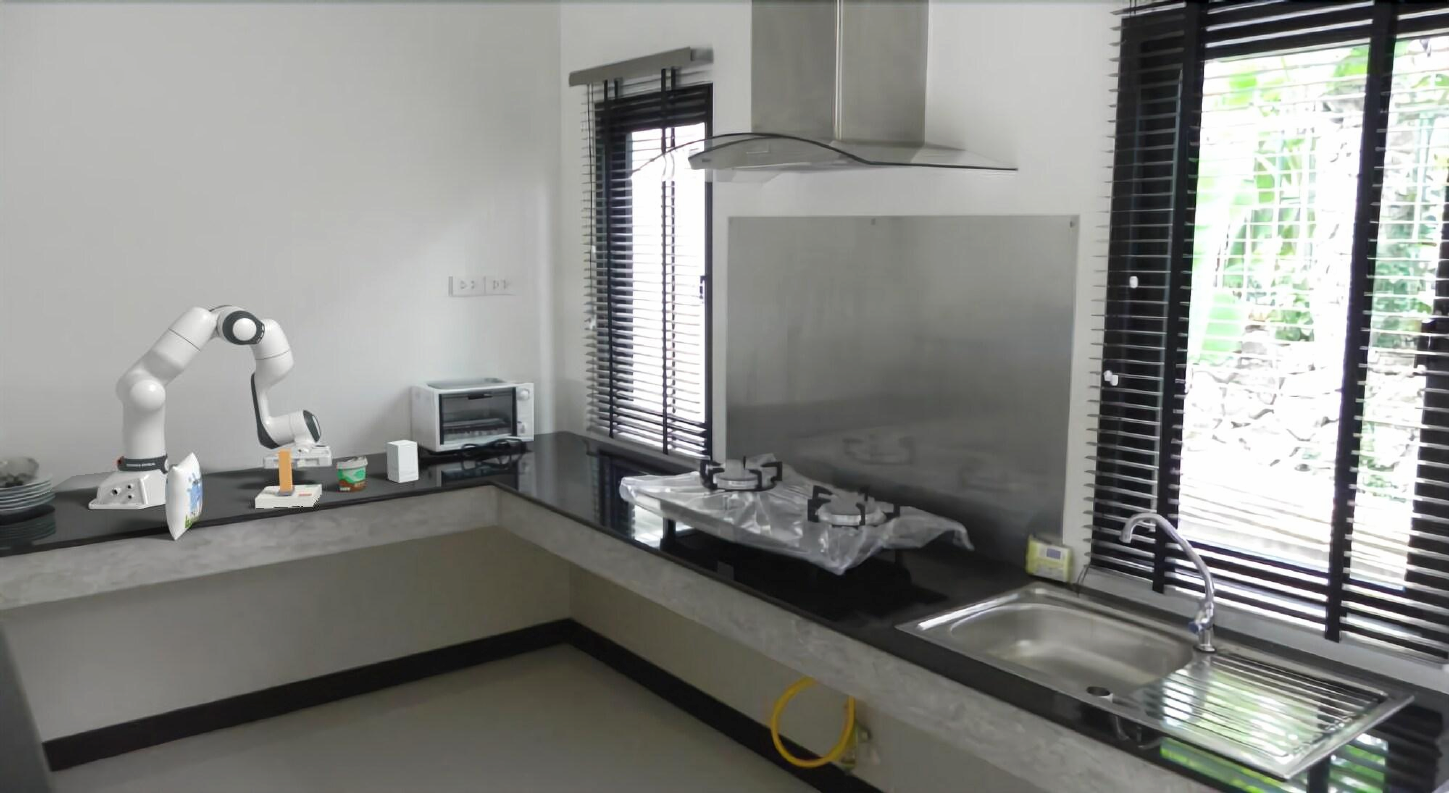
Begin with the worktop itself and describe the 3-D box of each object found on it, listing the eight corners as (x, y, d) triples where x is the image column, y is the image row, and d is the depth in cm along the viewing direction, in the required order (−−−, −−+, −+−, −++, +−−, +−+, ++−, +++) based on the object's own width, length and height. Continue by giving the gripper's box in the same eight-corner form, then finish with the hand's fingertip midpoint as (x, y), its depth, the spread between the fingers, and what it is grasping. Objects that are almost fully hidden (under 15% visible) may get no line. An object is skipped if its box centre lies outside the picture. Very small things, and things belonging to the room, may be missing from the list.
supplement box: (419, 479, 351) (417, 442, 349) (398, 483, 345) (397, 445, 344) (407, 476, 356) (406, 439, 354) (387, 479, 350) (385, 442, 348)
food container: (355, 494, 330) (354, 463, 328) (337, 493, 331) (336, 462, 329) (376, 485, 342) (374, 455, 340) (358, 484, 343) (357, 454, 341)
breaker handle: (277, 495, 314) (275, 452, 312) (281, 491, 318) (278, 449, 317) (292, 494, 314) (289, 451, 313) (295, 491, 319) (293, 448, 317)
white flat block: (255, 508, 312) (255, 498, 311) (267, 495, 327) (266, 486, 327) (313, 506, 315) (312, 496, 314) (321, 493, 330) (321, 484, 330)
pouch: (157, 541, 278) (152, 466, 275) (182, 522, 296) (178, 452, 293) (190, 540, 279) (185, 466, 276) (213, 521, 298) (208, 451, 295)
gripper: (267, 448, 339) (257, 456, 325) (334, 445, 343) (327, 454, 329) (268, 467, 340) (258, 476, 326) (335, 464, 344) (328, 474, 330)
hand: (293, 465), depth 328 cm, fingers closed
